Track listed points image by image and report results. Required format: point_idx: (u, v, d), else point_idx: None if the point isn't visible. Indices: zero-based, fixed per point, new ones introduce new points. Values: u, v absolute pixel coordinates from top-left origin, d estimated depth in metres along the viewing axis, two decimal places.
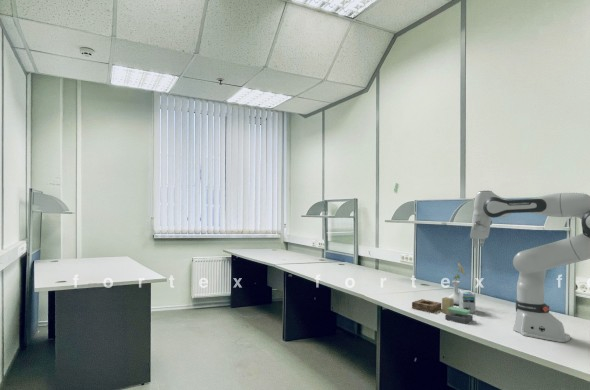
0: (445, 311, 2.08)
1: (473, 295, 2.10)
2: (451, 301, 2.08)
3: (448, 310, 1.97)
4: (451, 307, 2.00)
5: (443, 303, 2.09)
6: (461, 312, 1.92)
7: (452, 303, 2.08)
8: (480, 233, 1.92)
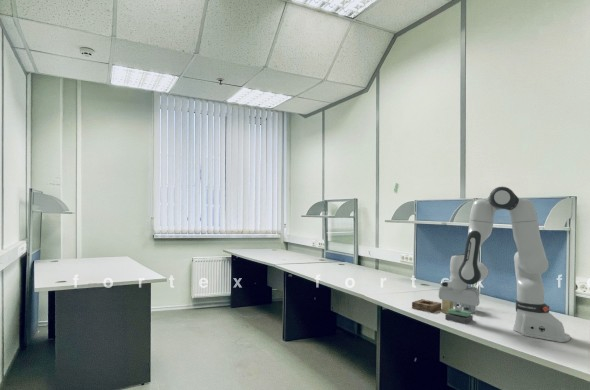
0: (445, 311, 2.08)
1: None
2: (451, 301, 2.08)
3: (448, 312, 1.97)
4: (451, 309, 2.00)
5: (443, 303, 2.09)
6: (461, 314, 1.92)
7: (452, 303, 2.08)
8: None
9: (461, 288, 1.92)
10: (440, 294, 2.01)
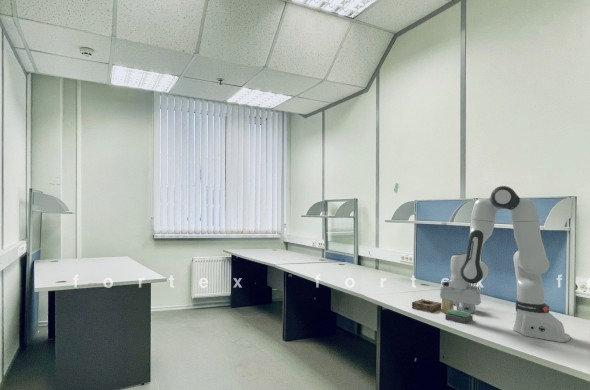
0: (445, 311, 2.08)
1: None
2: (451, 301, 2.08)
3: (448, 313, 1.97)
4: (451, 310, 2.00)
5: (443, 303, 2.09)
6: (461, 315, 1.92)
7: (452, 303, 2.08)
8: None
9: (462, 287, 1.92)
10: (442, 294, 2.02)
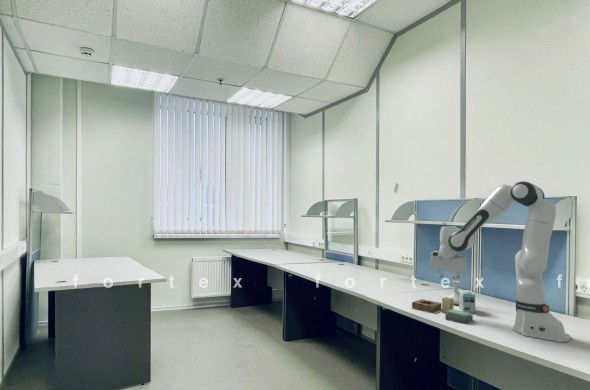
0: (445, 311, 2.08)
1: (473, 295, 2.10)
2: (451, 301, 2.08)
3: (448, 313, 1.97)
4: (451, 310, 2.00)
5: (443, 303, 2.09)
6: (461, 315, 1.92)
7: (452, 303, 2.08)
8: None
9: (450, 256, 2.06)
10: (431, 263, 2.15)
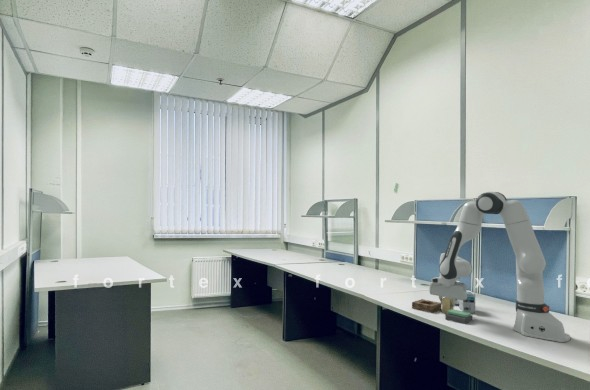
0: (445, 311, 2.08)
1: (473, 295, 2.10)
2: (451, 301, 2.08)
3: (448, 313, 1.97)
4: (451, 310, 2.00)
5: (443, 303, 2.09)
6: (461, 315, 1.92)
7: None
8: None
9: (450, 284, 2.06)
10: (431, 290, 2.15)
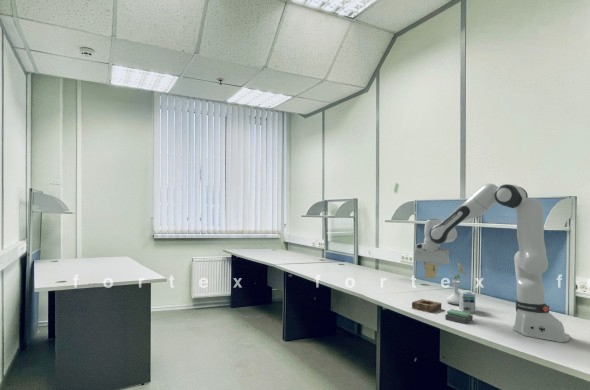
0: (428, 275, 2.15)
1: (473, 295, 2.10)
2: (434, 266, 2.15)
3: (448, 313, 1.97)
4: (451, 310, 2.00)
5: (426, 268, 2.16)
6: (461, 315, 1.92)
7: None
8: None
9: (433, 249, 2.13)
10: (415, 255, 2.22)
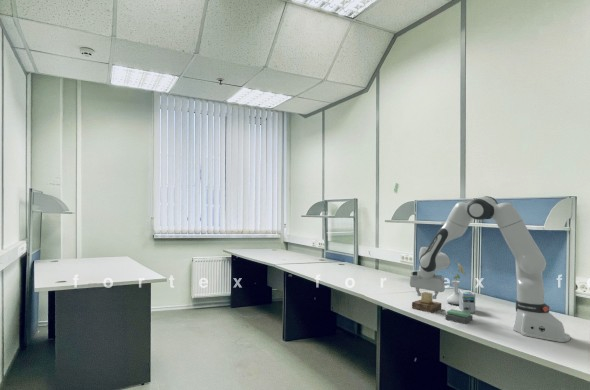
0: None
1: (473, 295, 2.10)
2: (430, 295, 2.16)
3: (448, 313, 1.97)
4: (451, 310, 2.00)
5: (422, 297, 2.17)
6: (461, 315, 1.92)
7: (431, 297, 2.16)
8: None
9: (428, 276, 2.14)
10: (411, 282, 2.23)
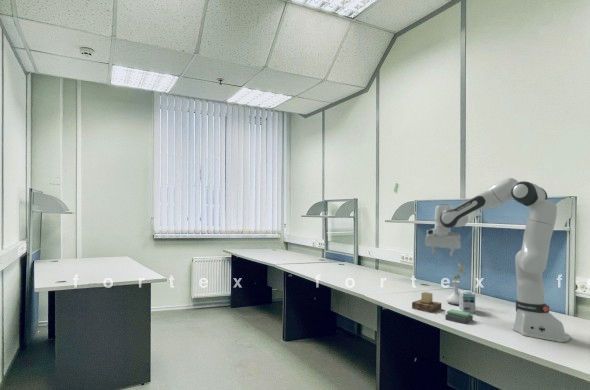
0: None
1: (473, 295, 2.10)
2: (430, 295, 2.16)
3: (448, 313, 1.97)
4: (451, 310, 2.00)
5: (422, 297, 2.17)
6: (461, 315, 1.92)
7: (431, 297, 2.16)
8: None
9: (444, 234, 2.15)
10: (426, 241, 2.24)
